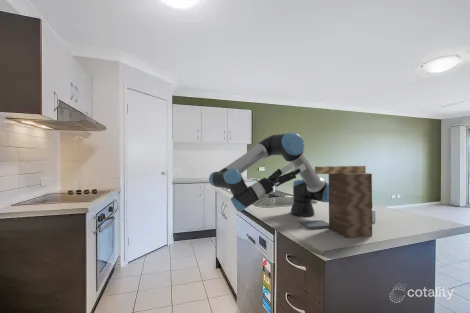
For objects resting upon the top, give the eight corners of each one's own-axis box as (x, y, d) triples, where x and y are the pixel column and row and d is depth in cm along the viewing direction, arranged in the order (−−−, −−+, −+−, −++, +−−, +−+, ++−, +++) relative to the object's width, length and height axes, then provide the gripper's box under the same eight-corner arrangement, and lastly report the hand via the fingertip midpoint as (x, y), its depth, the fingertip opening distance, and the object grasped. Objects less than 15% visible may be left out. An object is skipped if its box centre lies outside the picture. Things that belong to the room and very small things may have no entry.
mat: (308, 229, 123) (308, 226, 123) (299, 224, 133) (299, 221, 133) (332, 227, 125) (332, 225, 125) (322, 222, 135) (322, 220, 135)
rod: (318, 174, 113) (318, 166, 113) (314, 173, 116) (314, 166, 116) (365, 172, 118) (365, 166, 118) (360, 172, 121) (360, 165, 121)
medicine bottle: (375, 223, 134) (375, 202, 134) (362, 222, 135) (361, 201, 135) (370, 219, 141) (370, 200, 141) (358, 219, 142) (357, 199, 142)
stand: (346, 238, 110) (345, 174, 110) (329, 229, 124) (328, 172, 124) (372, 235, 113) (371, 173, 113) (352, 227, 126) (351, 171, 126)
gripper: (258, 191, 123) (290, 171, 126) (275, 199, 98) (315, 174, 102) (251, 179, 122) (284, 159, 126) (266, 184, 98) (307, 159, 101)
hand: (298, 165), depth 114 cm, fingers open, 13 cm apart
